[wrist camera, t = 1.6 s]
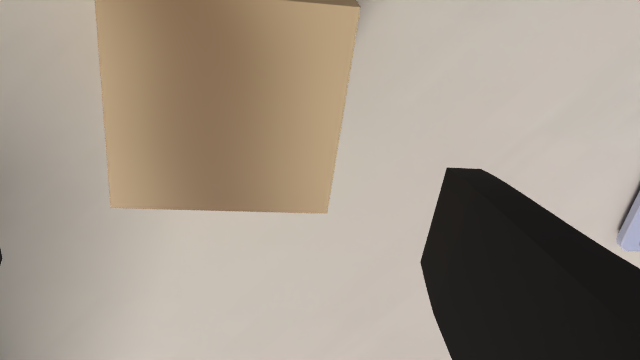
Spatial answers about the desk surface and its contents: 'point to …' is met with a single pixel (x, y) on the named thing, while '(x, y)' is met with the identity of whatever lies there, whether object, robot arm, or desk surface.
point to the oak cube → (224, 101)
